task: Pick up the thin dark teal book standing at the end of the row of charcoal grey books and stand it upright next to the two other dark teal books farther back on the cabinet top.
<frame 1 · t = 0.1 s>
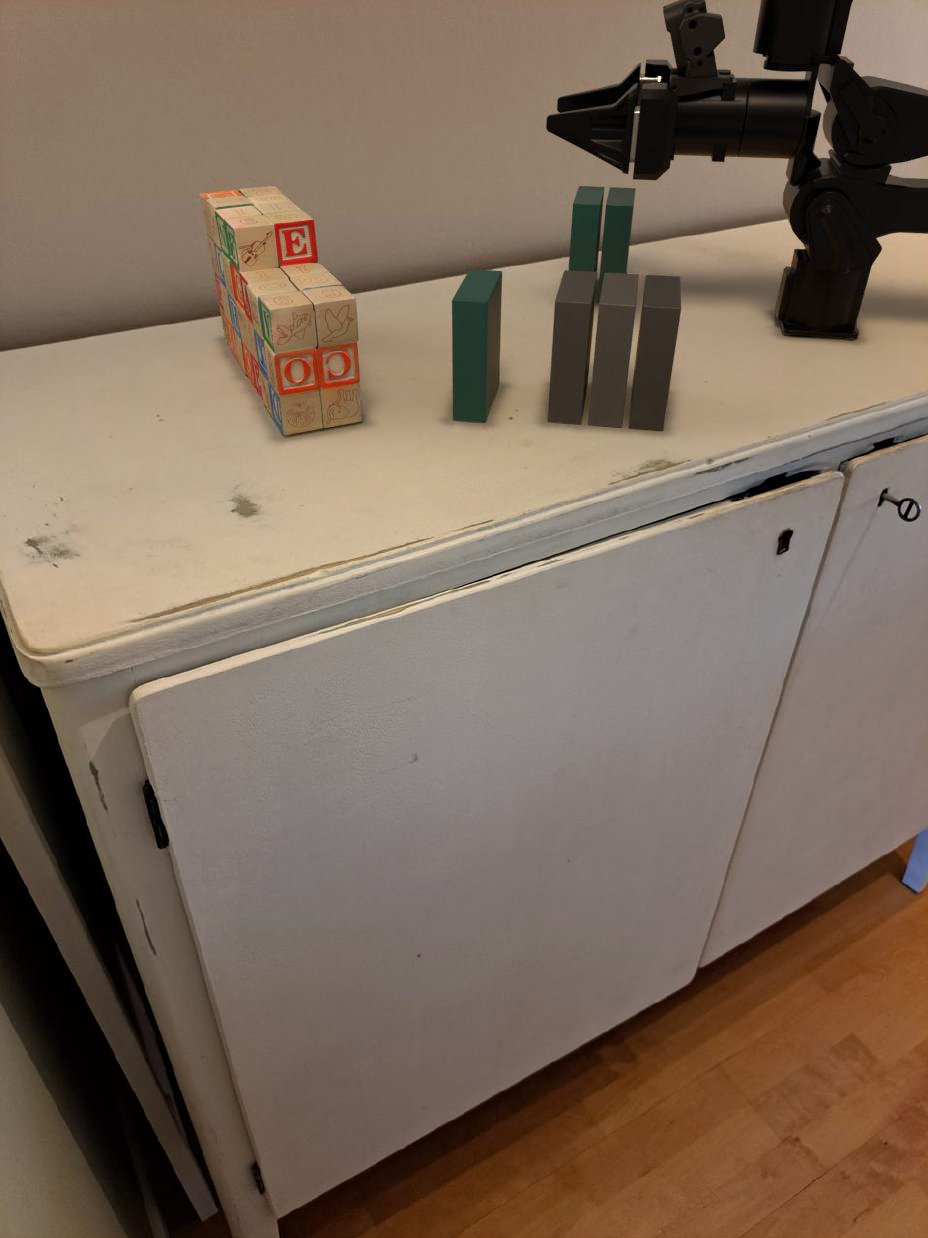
hand: (552, 112, 76), 17 cm above the table, tool horizontal, fingers open, 9 cm apart
grey books: (607, 406, 69), on the table
stack of blocks: (288, 379, 74), on the table
teal books: (596, 291, 91), on the table
teal book: (476, 402, 70), on the table
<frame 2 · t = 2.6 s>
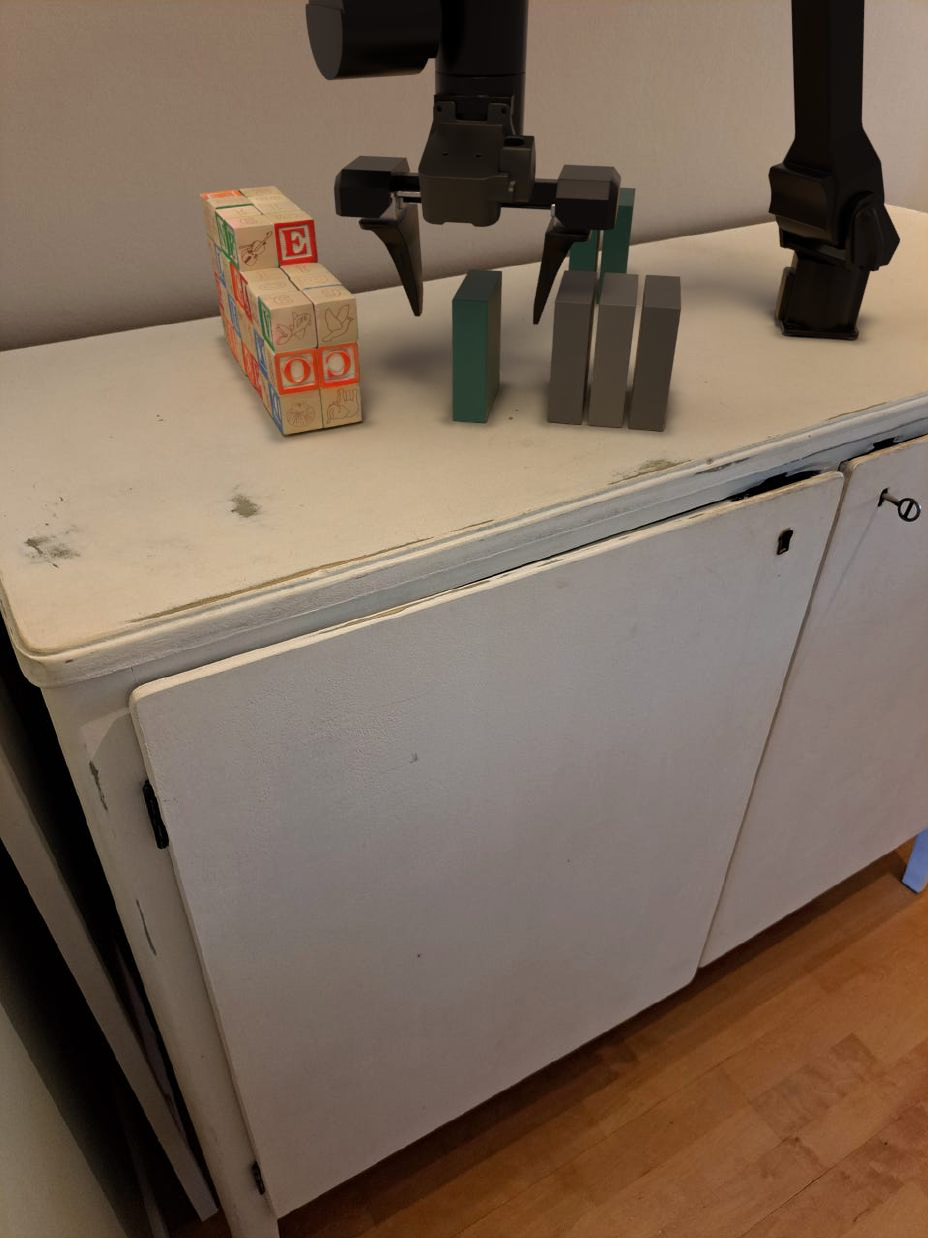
hand: (476, 318, 66), 7 cm above the table, tool pointing down, fingers open, 8 cm apart
nothing on the table moved.
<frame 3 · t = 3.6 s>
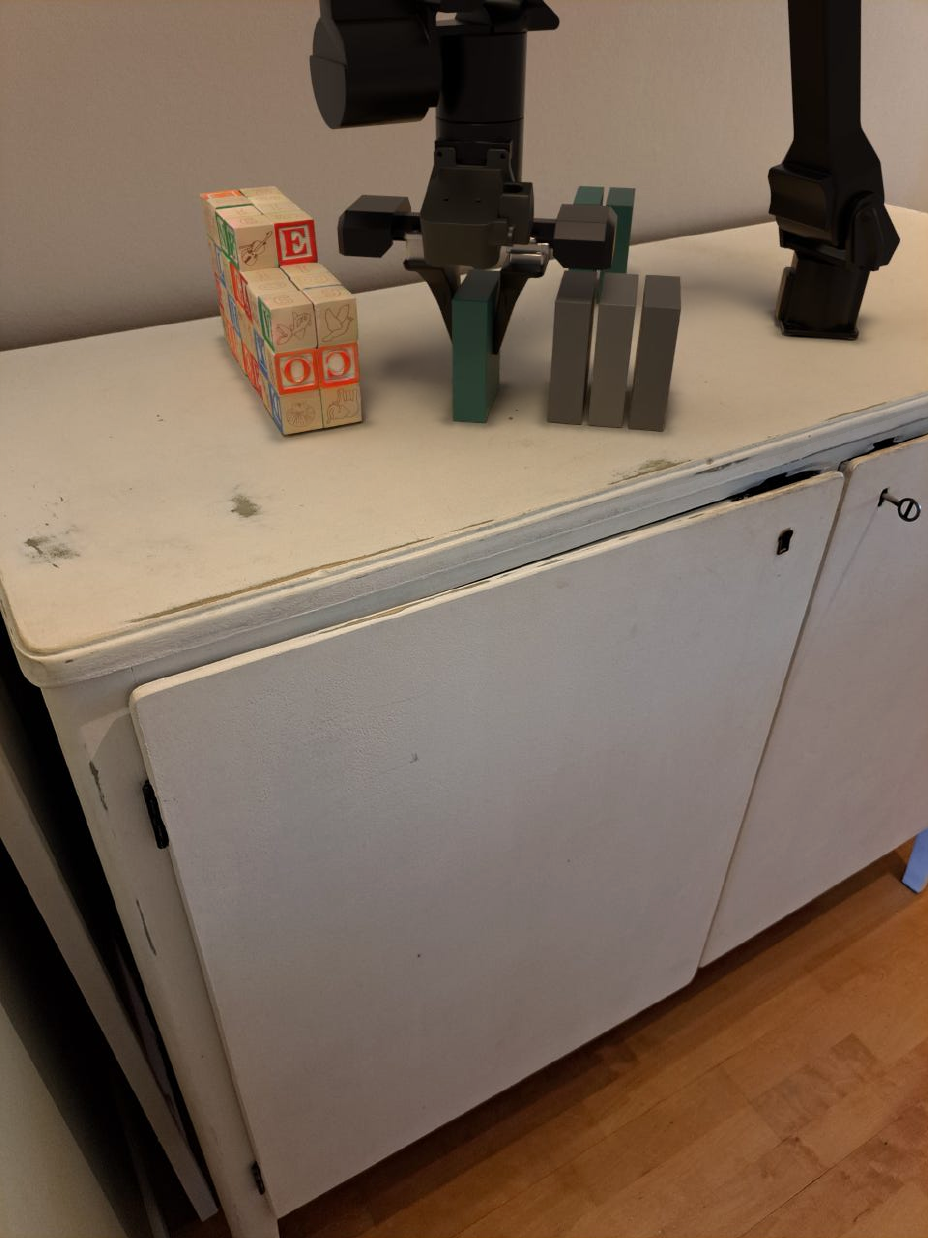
hand: (477, 351, 68), 4 cm above the table, tool pointing down, fingers closed on teal book, 2 cm apart
teal book: (476, 402, 70), on the table, touching gripper
everything else where it was.
when the fingers open (4 cm above the table, at t = 9.3 s): teal book stays where it is, on the table.
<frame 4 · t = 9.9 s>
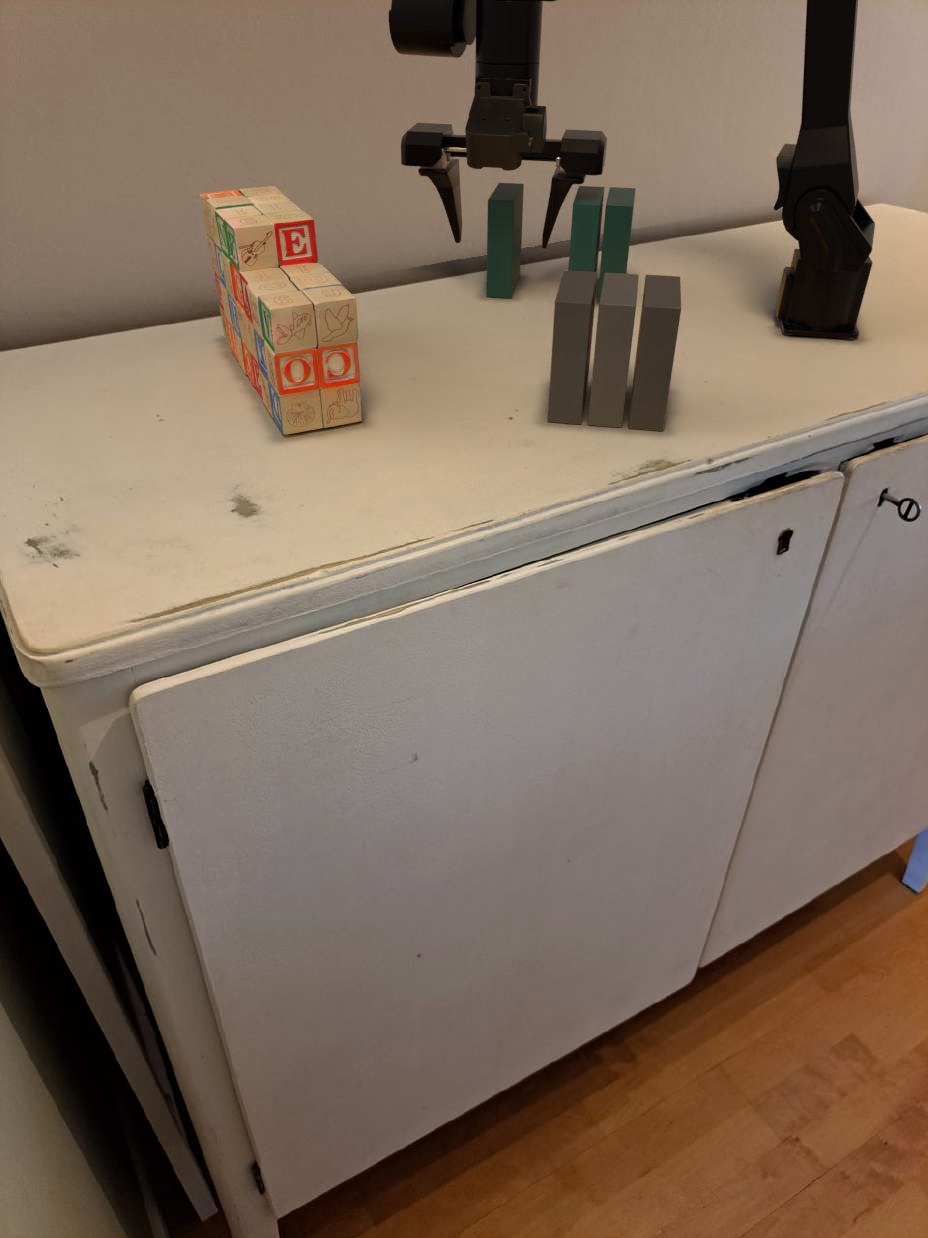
hand: (501, 244, 90), 4 cm above the table, tool pointing down, fingers open, 8 cm apart
teal book: (503, 286, 92), on the table
everything else where it was.
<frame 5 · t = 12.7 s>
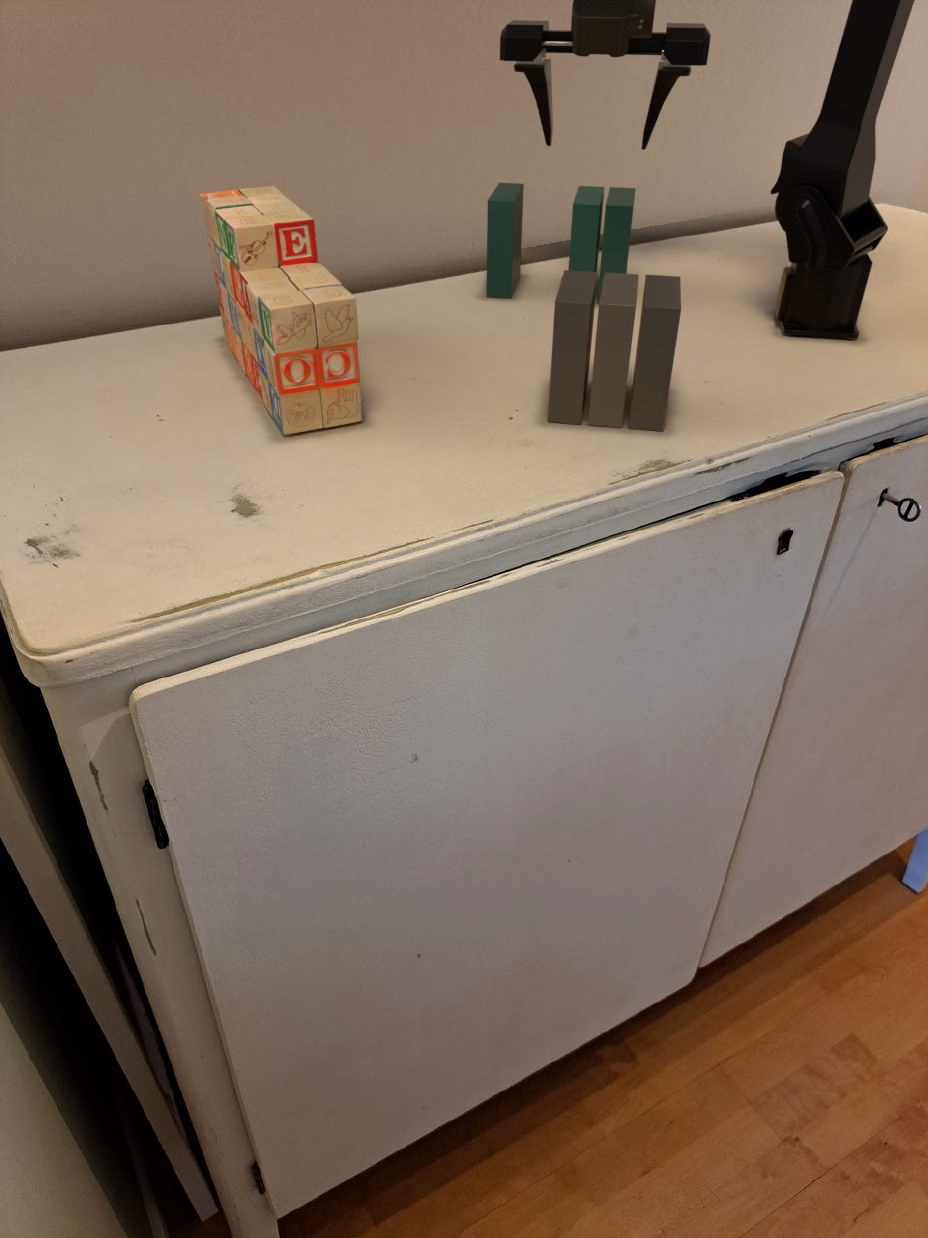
hand: (595, 146, 88), 12 cm above the table, tool pointing down, fingers open, 9 cm apart
nothing on the table moved.
at the end: teal book 0.1 cm from the target spot on the table beside the teal books, on the table; teal book tilted 0°; the gripper is holding nothing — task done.
